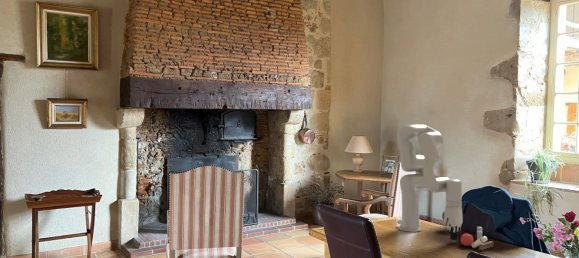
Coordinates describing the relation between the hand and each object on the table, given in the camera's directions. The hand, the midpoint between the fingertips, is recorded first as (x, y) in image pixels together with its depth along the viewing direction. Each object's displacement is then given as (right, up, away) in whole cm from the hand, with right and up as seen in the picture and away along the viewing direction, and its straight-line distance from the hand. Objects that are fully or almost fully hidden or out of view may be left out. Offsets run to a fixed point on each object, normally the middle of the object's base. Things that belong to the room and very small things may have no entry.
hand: (453, 239), depth 228 cm
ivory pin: (+6, -1, -10) cm, 11 cm away
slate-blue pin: (+12, -2, -4) cm, 12 cm away
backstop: (+12, -2, -11) cm, 16 cm away
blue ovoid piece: (+7, -1, +25) cm, 26 cm away
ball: (+4, +1, -7) cm, 8 cm away
